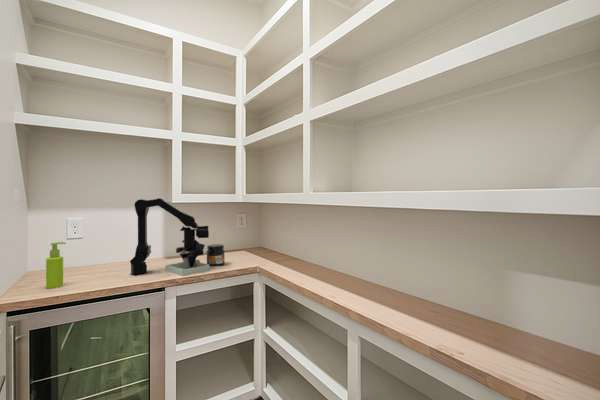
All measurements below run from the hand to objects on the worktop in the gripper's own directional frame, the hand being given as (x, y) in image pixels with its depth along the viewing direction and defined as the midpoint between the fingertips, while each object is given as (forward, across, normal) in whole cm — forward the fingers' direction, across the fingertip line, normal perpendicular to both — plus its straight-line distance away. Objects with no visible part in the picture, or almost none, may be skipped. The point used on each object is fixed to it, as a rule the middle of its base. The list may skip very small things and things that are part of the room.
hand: (189, 266), depth 156 cm
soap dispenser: (+3, +22, +53) cm, 57 cm away
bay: (+2, 0, +1) cm, 3 cm away
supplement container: (+3, 0, -17) cm, 18 cm away
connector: (+1, 0, -1) cm, 2 cm away
